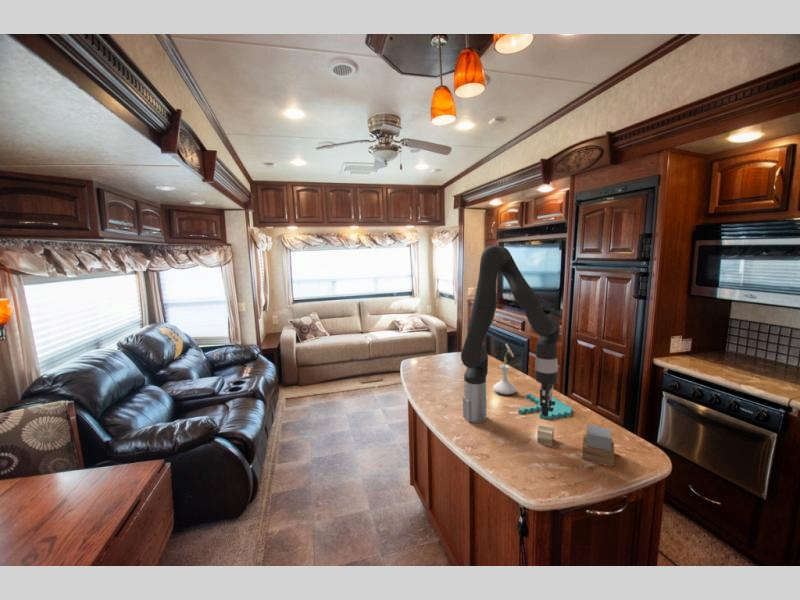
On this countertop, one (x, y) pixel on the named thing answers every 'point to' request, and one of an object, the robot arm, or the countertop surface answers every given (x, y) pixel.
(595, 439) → the slate top block
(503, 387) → the flower in vase
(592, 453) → the walnut base block
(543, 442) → the maple cube
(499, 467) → the countertop surface
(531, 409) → the alien figure
